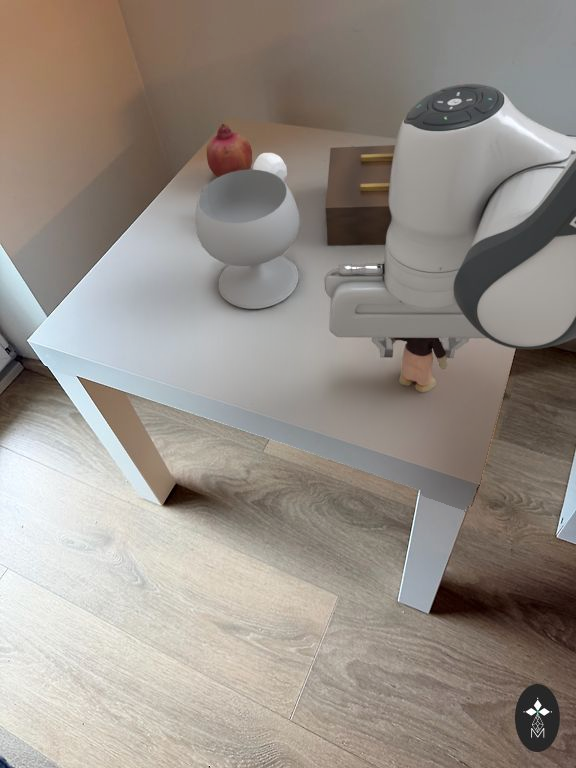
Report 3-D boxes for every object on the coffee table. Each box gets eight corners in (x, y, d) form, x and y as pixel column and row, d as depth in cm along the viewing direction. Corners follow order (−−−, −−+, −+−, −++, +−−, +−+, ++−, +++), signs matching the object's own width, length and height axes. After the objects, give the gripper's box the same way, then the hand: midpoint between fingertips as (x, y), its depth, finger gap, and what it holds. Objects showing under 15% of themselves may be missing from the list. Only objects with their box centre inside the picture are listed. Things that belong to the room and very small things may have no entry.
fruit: (203, 186, 97) (189, 133, 89) (227, 162, 101) (216, 109, 93) (240, 195, 95) (230, 142, 87) (263, 171, 98) (255, 117, 90)
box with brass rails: (461, 181, 91) (469, 137, 85) (472, 243, 82) (482, 198, 75) (331, 185, 94) (330, 142, 88) (327, 245, 85) (325, 203, 78)
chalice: (194, 292, 81) (166, 207, 69) (252, 240, 87) (236, 153, 75) (266, 329, 75) (249, 244, 63) (323, 270, 81) (318, 182, 69)
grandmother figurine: (447, 376, 68) (465, 304, 58) (438, 399, 66) (456, 329, 56) (388, 359, 70) (396, 287, 60) (378, 381, 68) (384, 310, 58)
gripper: (322, 287, 52) (327, 373, 63) (543, 286, 50) (508, 376, 61) (325, 245, 56) (329, 333, 67) (531, 241, 53) (500, 334, 64)
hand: (415, 353), depth 64 cm, fingers open, 6 cm apart
